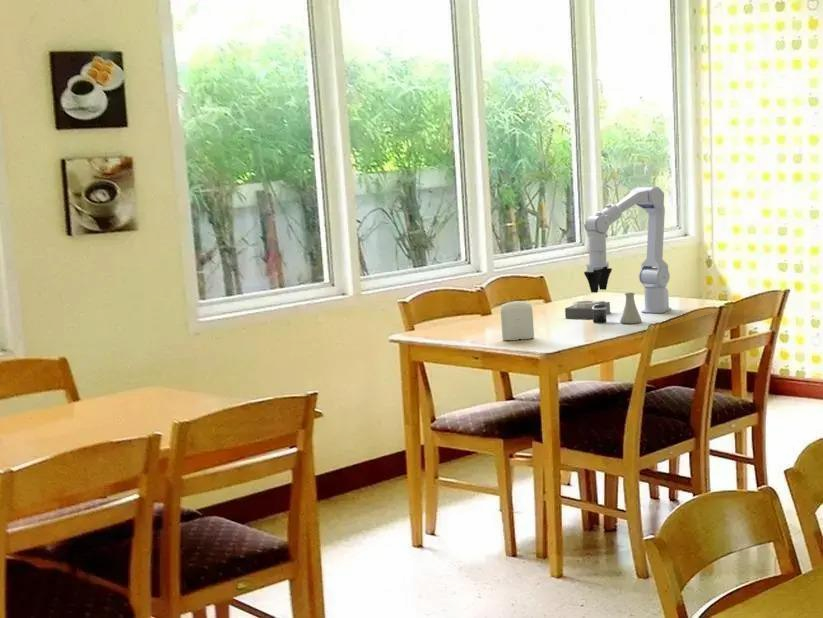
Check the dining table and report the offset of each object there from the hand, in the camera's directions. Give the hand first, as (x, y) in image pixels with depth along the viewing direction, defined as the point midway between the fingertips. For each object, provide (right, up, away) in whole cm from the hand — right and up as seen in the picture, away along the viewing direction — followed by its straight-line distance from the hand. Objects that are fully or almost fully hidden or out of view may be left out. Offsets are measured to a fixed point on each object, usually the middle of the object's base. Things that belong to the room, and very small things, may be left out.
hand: (598, 291), depth 414 cm
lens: (+1, -11, +2) cm, 11 cm away
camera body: (-1, -8, +18) cm, 20 cm away
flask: (+10, -11, -4) cm, 15 cm away
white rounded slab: (-29, -16, -22) cm, 40 cm away
